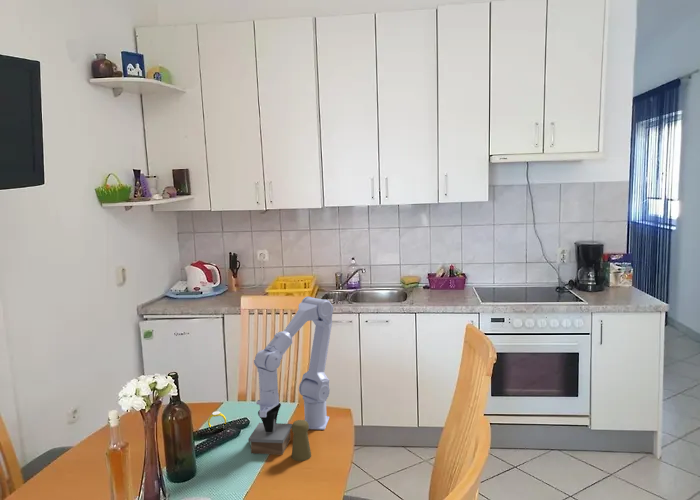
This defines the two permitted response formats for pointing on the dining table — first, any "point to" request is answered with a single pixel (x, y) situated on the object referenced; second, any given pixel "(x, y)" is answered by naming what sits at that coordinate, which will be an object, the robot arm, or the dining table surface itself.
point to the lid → (270, 433)
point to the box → (270, 447)
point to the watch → (215, 416)
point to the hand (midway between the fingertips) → (270, 429)
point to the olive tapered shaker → (300, 441)
